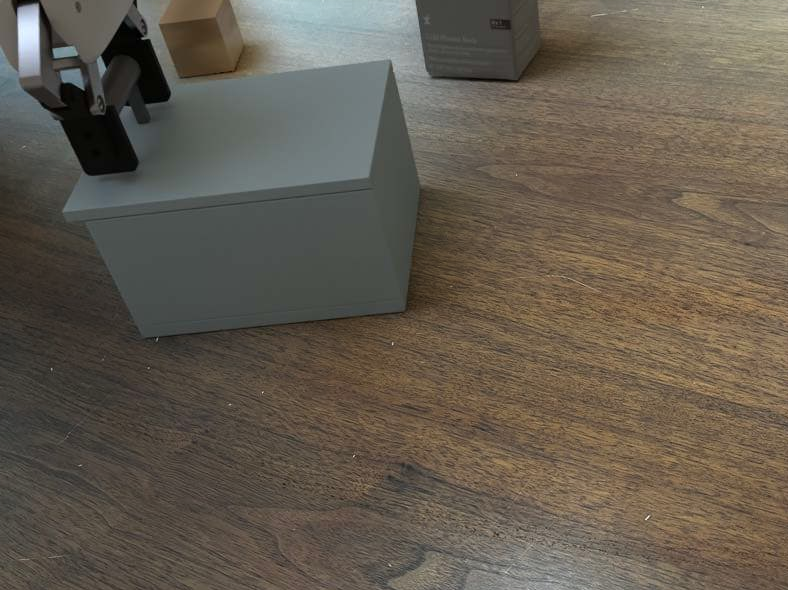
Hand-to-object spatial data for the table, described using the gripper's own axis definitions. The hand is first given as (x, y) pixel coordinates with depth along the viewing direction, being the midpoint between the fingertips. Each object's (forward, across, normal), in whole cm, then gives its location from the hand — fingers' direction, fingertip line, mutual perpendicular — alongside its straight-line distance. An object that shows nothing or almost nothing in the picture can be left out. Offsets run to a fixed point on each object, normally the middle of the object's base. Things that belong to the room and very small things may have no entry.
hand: (130, 133), depth 67 cm
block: (+10, -31, -5) cm, 33 cm away
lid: (+1, 0, +7) cm, 7 cm away
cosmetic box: (+11, -25, +20) cm, 34 cm away
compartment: (+10, 0, +7) cm, 13 cm away
